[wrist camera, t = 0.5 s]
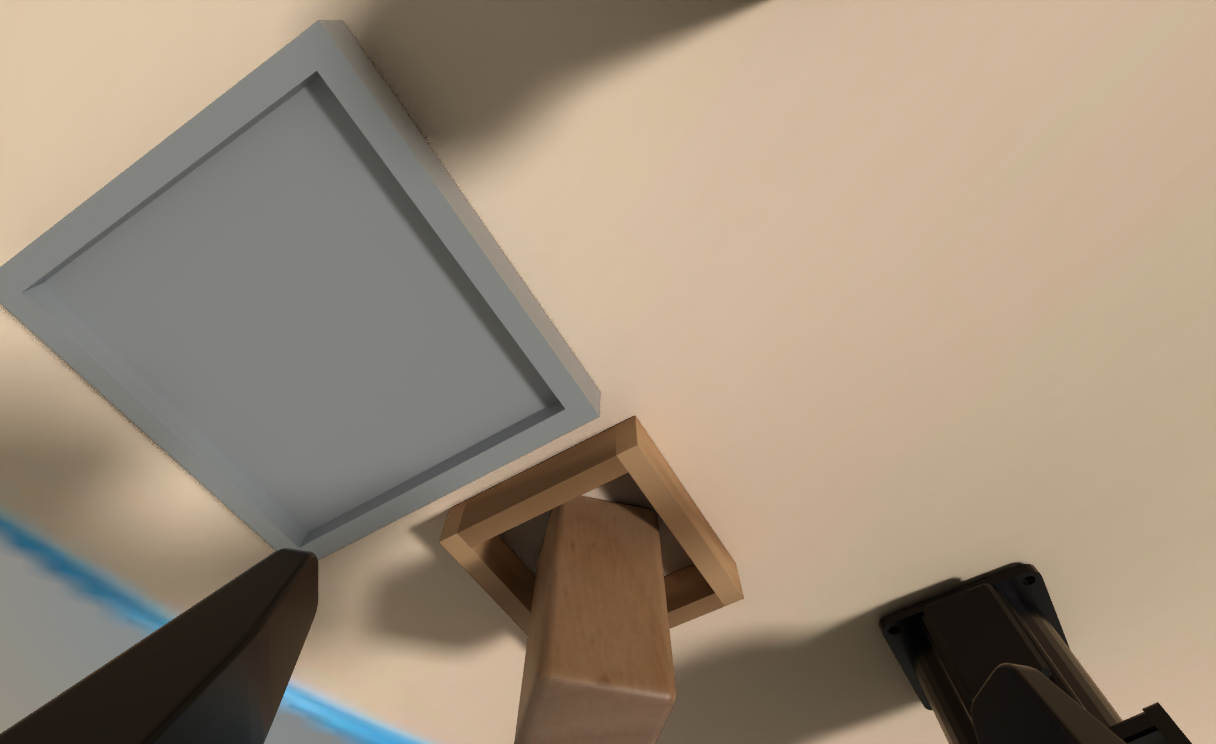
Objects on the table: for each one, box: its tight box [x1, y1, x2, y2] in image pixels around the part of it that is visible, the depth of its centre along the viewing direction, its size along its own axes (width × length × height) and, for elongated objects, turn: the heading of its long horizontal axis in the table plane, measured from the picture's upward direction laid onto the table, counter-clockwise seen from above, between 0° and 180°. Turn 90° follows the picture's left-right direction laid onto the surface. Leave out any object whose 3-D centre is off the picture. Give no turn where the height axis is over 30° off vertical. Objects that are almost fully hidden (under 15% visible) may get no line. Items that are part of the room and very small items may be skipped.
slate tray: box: [0, 20, 600, 560], centre depth 20 cm, size 13×13×2 cm
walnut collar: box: [439, 416, 744, 635], centre depth 24 cm, size 8×8×2 cm
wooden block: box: [514, 496, 676, 744], centre depth 22 cm, size 4×4×8 cm
